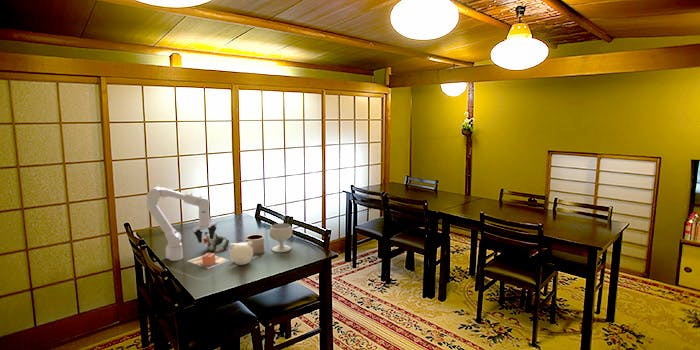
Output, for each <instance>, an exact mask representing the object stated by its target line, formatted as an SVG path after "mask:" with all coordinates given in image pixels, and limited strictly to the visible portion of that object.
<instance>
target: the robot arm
mask: <svg viewBox="0 0 700 350" xmlns="http://www.w3.org/2000/svg"><path fill="white" fill-rule="evenodd" d="M166 197H170V198H174V199H179V200H182V201H183V203H184V204H187V205H188V204H189V205H192V206H195V207H198V220H199V222H198V224H199V225H197V226H195V227H193V228H192V232H193V234H194V235H195V237H196V238H197V241H198V243H199V244H201V243H203V231H202V230H205V229H207V230H208V233H209V236H210V239H213V236H214V233H216V230H217V222H215V221H214V222H211V221H210V219H211V218H210V206H209V203H210V202H209V199H208V197H206V196H202V195H196V194H194V193H193V192H188V193H187V192H186V193H185V194H184V193H182V192H179V191H176V190H173V189H170V188H167V187H164V186H159V185H154V186H153V187H151V188H150V190H149V191H148V192H147V194H146V208H147V210H148V212H149V213H150V214H151V216H152V217H153V218H154V220H155V221H156V223H157V224H158V226H159V227H160V228H161V230H162V231H163V233H164V235H165V238H166V240H167V245H166V247H165V259H167V260H169V261H172V262H175V261H181V260H182V259H183V258H184V252H183V243H182V242H181V240H182V234H181V233H180V232H179V231H177V230H176V229H175V228H174V227H173V226H172V224H171V223H170V221H169V220H168V218H167V217H166V215H165V214H164V212H163V211H162V210H161V208H160V206H159V205H158V203H159V200H160V198H161V199H163V198H166Z"/></svg>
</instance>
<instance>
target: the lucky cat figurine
mask: <svg viewBox="0 0 700 350" xmlns="http://www.w3.org/2000/svg"><path fill="white" fill-rule="evenodd" d="M203 237H204V238H202V243H203V245H204V247H205V248H206V249H208V250H209V251H210V252H213V253H222V252H224V251H229V250H228V249H229V243H230V239H227V238H226V237H225V236H223V235H219V236H218V235H217V232H215V233H214V236H213V239H210V236H209V231H205V232H204V236H203Z"/></svg>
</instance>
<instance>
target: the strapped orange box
mask: <svg viewBox="0 0 700 350" xmlns="http://www.w3.org/2000/svg"><path fill="white" fill-rule="evenodd" d="M201 256H202V262H203V265H213V264H214V263H215V256H216V252H213V253H212V252H211V253H208V252H205V254H203V255H201Z"/></svg>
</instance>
